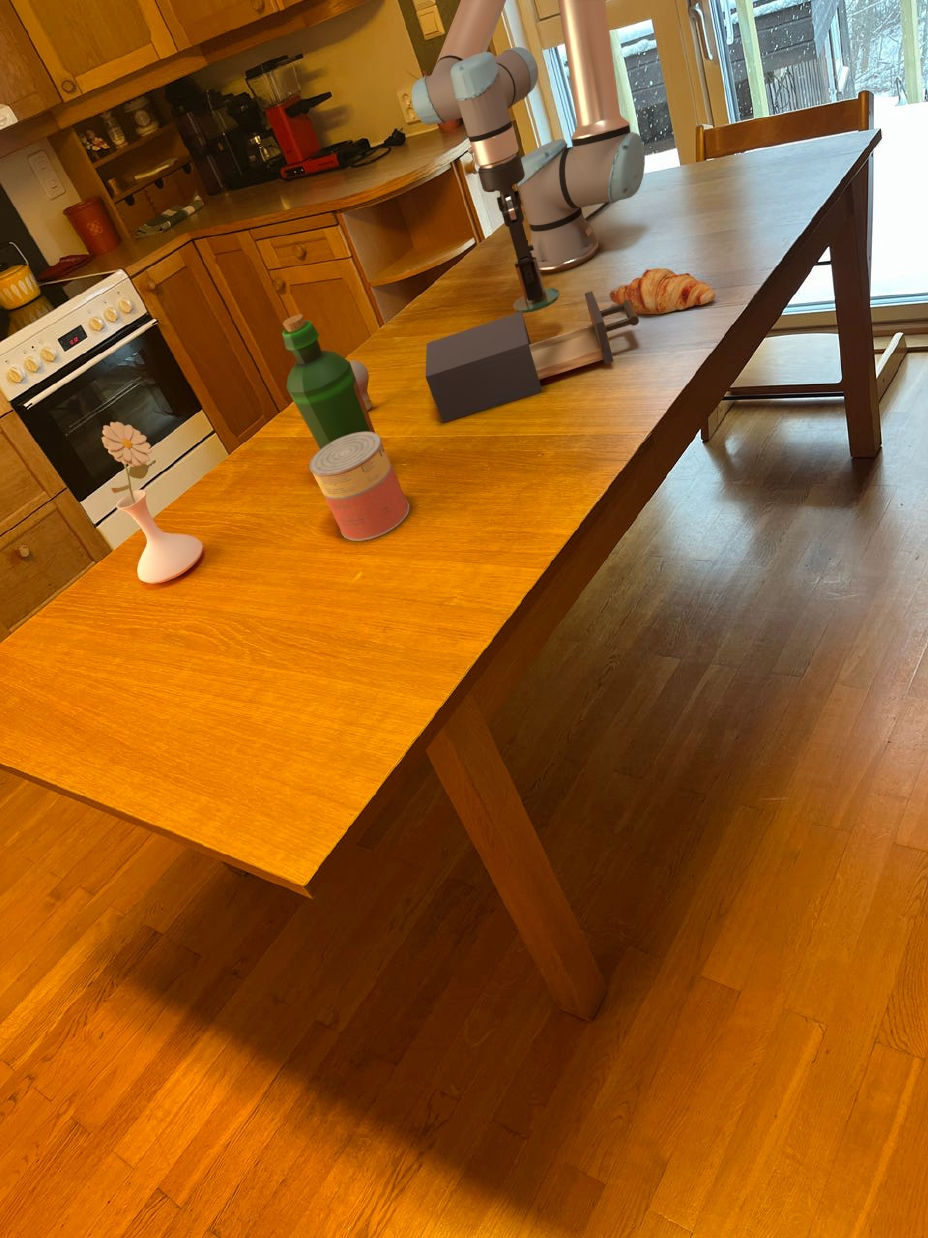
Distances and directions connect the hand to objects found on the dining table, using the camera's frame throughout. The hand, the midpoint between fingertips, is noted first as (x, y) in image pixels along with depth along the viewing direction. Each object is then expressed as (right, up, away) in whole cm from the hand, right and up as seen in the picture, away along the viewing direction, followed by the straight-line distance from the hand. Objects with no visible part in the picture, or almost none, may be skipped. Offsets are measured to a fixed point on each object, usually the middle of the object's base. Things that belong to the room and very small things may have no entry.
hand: (534, 293), depth 165 cm
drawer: (+6, -14, -8) cm, 17 cm away
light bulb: (-31, -20, +6) cm, 38 cm away
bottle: (-30, -36, -14) cm, 49 cm away
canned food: (-27, -44, -26) cm, 58 cm away
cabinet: (-8, -19, -4) cm, 21 cm away
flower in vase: (-60, -51, -17) cm, 80 cm away
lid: (0, -1, +1) cm, 2 cm away
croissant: (+23, -3, -1) cm, 24 cm away
